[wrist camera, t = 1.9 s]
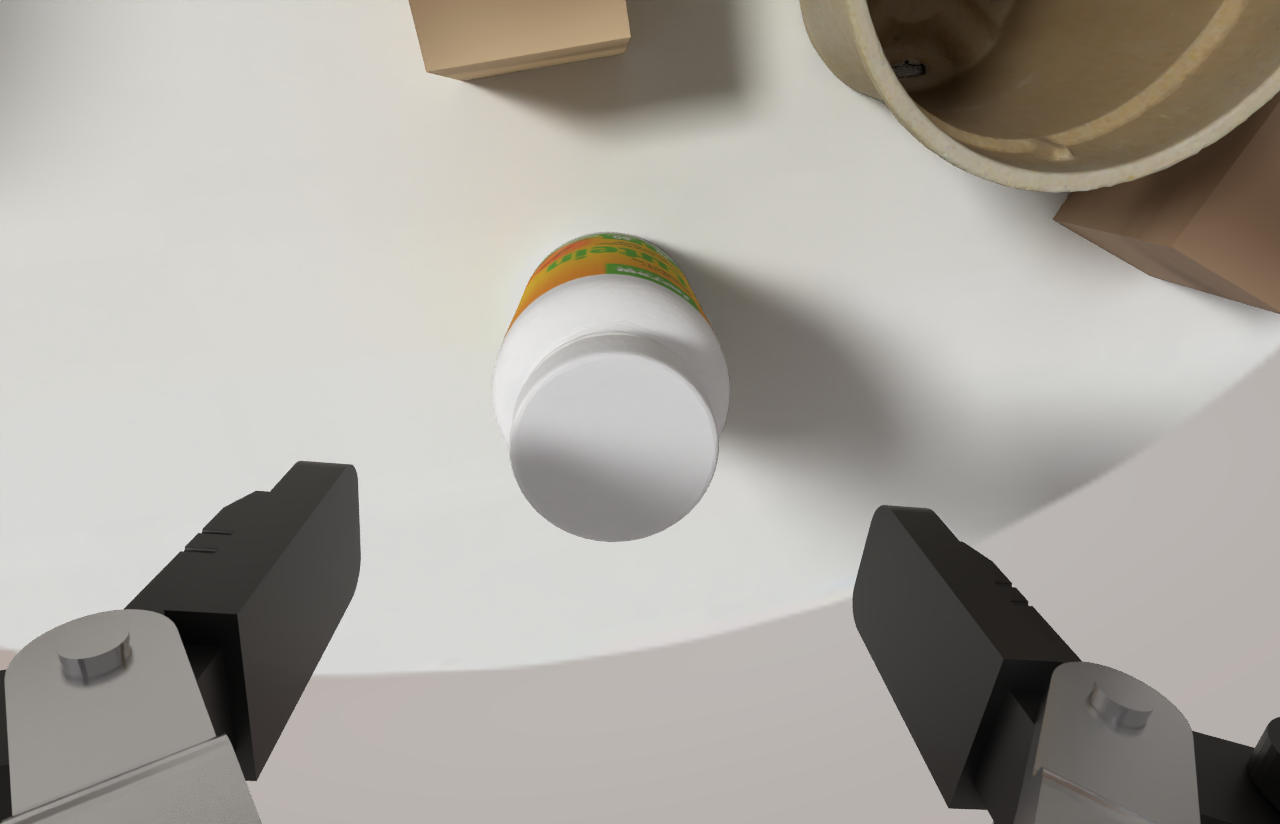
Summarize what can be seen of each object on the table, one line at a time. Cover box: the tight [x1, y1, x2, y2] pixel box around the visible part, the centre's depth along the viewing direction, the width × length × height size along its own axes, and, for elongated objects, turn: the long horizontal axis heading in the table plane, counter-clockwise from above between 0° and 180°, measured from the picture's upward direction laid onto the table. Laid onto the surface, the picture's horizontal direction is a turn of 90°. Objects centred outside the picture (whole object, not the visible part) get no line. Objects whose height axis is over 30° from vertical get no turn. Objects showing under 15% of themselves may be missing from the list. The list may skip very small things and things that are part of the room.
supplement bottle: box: [492, 232, 730, 542], centre depth 18 cm, size 5×5×10 cm
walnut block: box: [1053, 91, 1280, 314], centre depth 19 cm, size 5×4×5 cm
